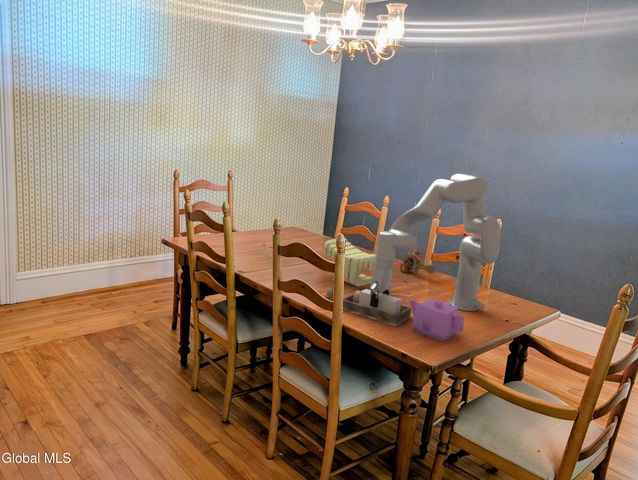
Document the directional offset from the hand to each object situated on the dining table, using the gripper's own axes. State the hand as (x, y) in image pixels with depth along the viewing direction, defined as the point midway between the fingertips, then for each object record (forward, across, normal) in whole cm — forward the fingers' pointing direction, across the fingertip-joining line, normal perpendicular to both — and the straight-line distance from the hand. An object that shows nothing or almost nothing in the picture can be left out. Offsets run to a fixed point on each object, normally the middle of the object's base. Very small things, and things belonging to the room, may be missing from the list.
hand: (379, 303), depth 193 cm
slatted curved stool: (+5, -31, -28) cm, 42 cm away
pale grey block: (+3, 0, -1) cm, 4 cm away
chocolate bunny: (+5, -2, -22) cm, 23 cm away
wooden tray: (+4, 0, -2) cm, 5 cm away
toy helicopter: (+5, -68, -11) cm, 69 cm away
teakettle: (+5, +1, +24) cm, 24 cm away
